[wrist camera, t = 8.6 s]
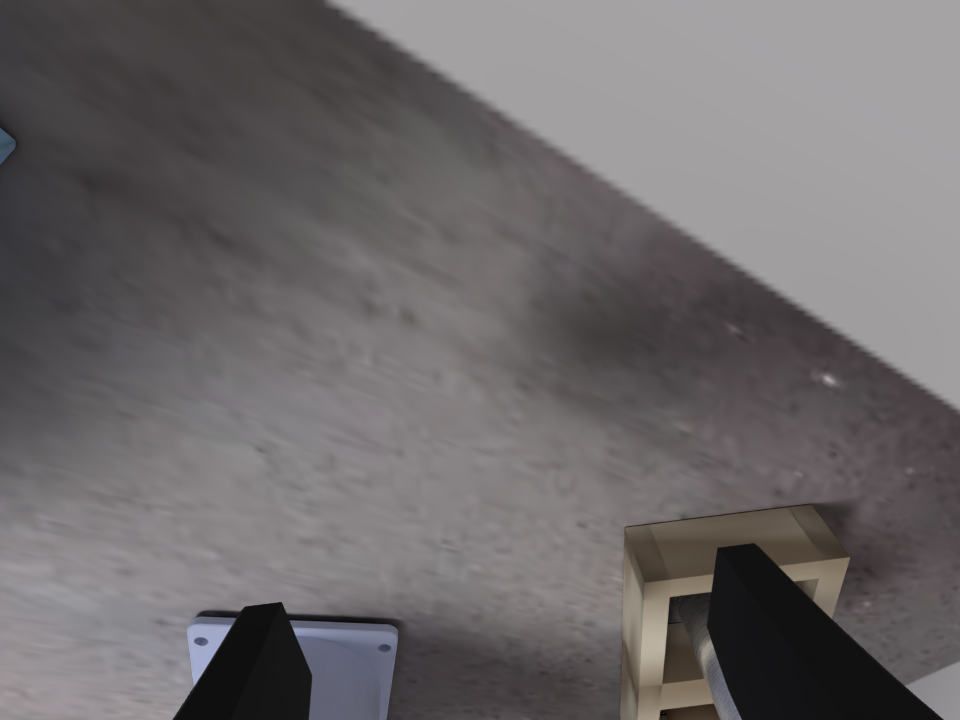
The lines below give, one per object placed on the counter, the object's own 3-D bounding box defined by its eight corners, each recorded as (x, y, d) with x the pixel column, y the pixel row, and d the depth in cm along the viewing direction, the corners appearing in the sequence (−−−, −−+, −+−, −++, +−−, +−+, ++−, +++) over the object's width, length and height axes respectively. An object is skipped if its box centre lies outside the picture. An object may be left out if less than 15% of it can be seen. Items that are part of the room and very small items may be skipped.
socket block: (761, 712, 30) (829, 861, 25) (619, 730, 30) (658, 882, 25) (811, 504, 23) (921, 652, 18) (624, 527, 23) (680, 682, 18)
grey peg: (744, 599, 26) (857, 822, 19) (659, 603, 25) (742, 830, 18) (766, 537, 24) (901, 759, 17) (674, 541, 23) (774, 767, 17)
